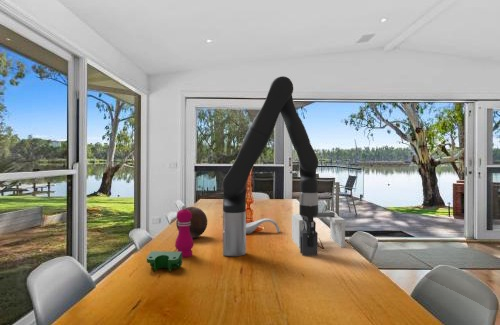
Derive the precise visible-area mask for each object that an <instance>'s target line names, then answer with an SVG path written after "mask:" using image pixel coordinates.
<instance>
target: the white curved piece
mask: <svg viewBox="0 0 500 325" xmlns="http://www.w3.org/2000/svg"><path fill="white" fill-rule="evenodd" d="M265 222H268V223H271V224H273V225H274V226H275V228H276V229H275V230H276V233H279V234H280V233H281V232H280V227H279V225H278V223H277V222H276V221H275V220H274V219H272V218H268V217H267V218H261V219H258V220H256V221H252V222H246V234H253V232H254V231H255V230H257V228H259V226H261V225H262V224H263V223H265Z"/></svg>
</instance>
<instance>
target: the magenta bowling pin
mask: <svg viewBox="0 0 500 325" xmlns="http://www.w3.org/2000/svg"><path fill="white" fill-rule="evenodd" d="M186 208H187V205H182V206H181V209H179V210H178V211H177V213H176V220H177V219H178V221H179V222H178V226H179V231H178V234H177V237H176V239H175V243H174V247H175V248H176V250H177V251H178V252H182V258H189V257H192V256H193V250H192V249H193V247H194V245H195V244H194V238H192V237H191V234H190V229H189V227H190V225H191V224H190V223H191V222H190V219H191V218H192V214H191V212H190V211H189V210H187V209H186Z"/></svg>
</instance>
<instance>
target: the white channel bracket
mask: <svg viewBox="0 0 500 325" xmlns="http://www.w3.org/2000/svg"><path fill="white" fill-rule="evenodd" d="M303 217H304V216H301V215H300V214H299V213H292V214H291V227H292V228H291V237H292V238H291V240H292V241H293V243H294V244H295V245H296V246H297V247H298V249H300V231H303V219H302V218H303ZM316 218H317V219H321V218H322V219H327V220H329V221H330V225H329V228H330V232H329V233H330V239H331V240H332V241H333V242H334V243H335V244H337V245H338V247H339V246H340V248H346V220H345V218H342V217H341V216H339V215H337V214H336V213H335V212H318V215H317V216H314V217H313V219H316Z"/></svg>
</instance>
